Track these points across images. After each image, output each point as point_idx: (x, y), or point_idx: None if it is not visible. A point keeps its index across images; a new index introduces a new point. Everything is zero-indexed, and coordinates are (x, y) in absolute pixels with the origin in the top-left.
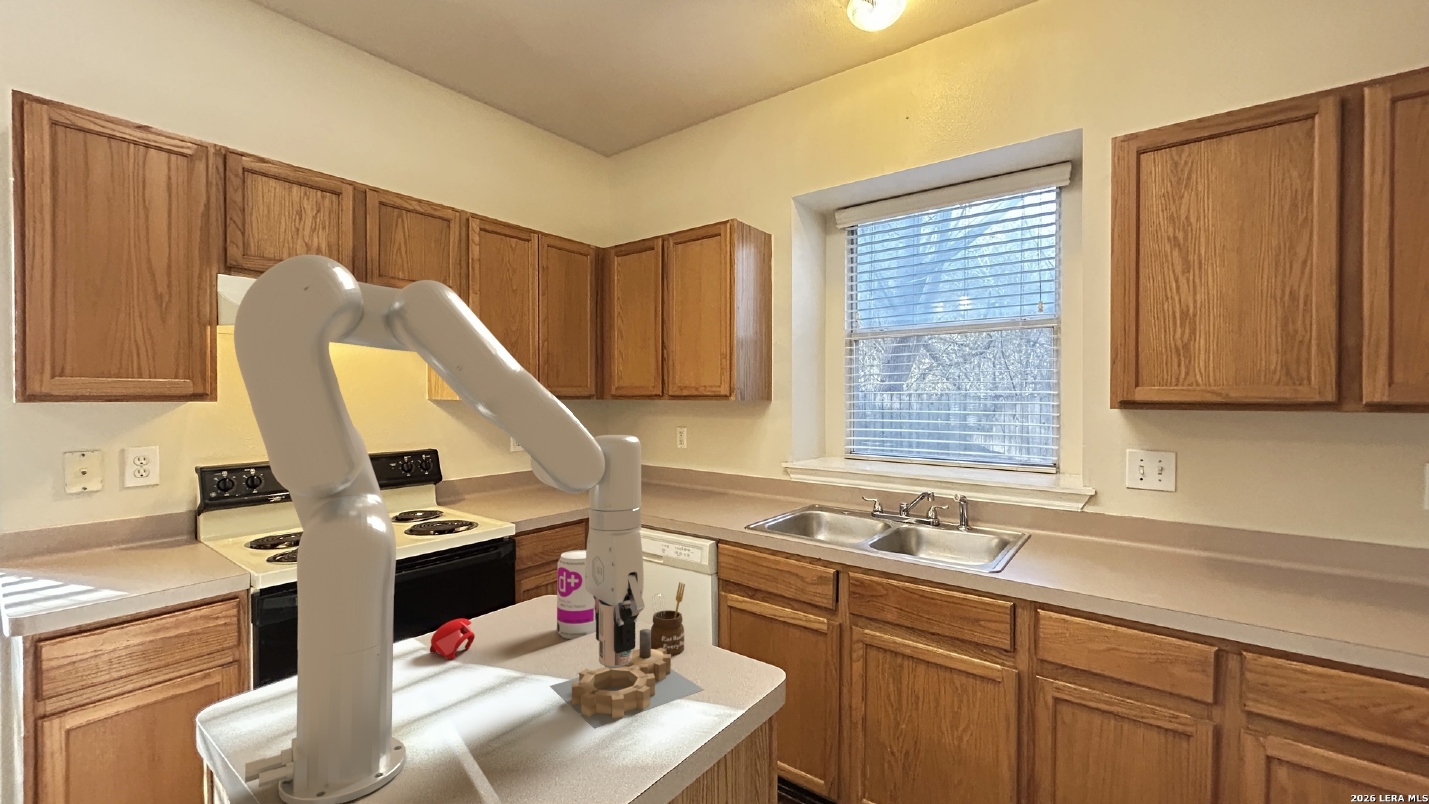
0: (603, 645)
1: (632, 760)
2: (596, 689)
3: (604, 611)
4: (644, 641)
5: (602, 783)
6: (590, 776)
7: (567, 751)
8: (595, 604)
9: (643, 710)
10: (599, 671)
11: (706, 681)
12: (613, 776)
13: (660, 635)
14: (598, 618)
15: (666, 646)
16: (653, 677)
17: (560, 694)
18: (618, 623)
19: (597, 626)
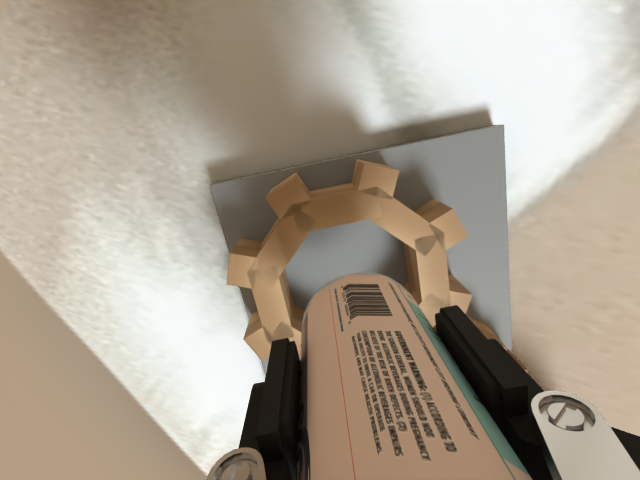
0: (343, 314)
1: (85, 232)
2: (314, 229)
3: (363, 457)
4: None
5: (11, 147)
6: (44, 129)
7: (167, 102)
8: (601, 431)
9: (249, 313)
10: (429, 267)
11: None
12: (33, 177)
13: None
14: (488, 377)
15: None
16: None
17: (433, 143)
18: (250, 459)
19: (469, 343)
